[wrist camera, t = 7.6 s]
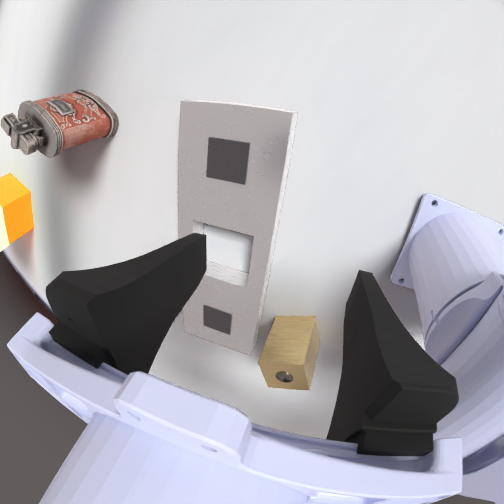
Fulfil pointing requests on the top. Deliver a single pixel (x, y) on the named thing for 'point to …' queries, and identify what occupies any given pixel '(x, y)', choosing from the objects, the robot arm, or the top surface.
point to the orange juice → (14, 210)
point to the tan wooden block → (290, 352)
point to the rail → (232, 207)
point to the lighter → (60, 123)
